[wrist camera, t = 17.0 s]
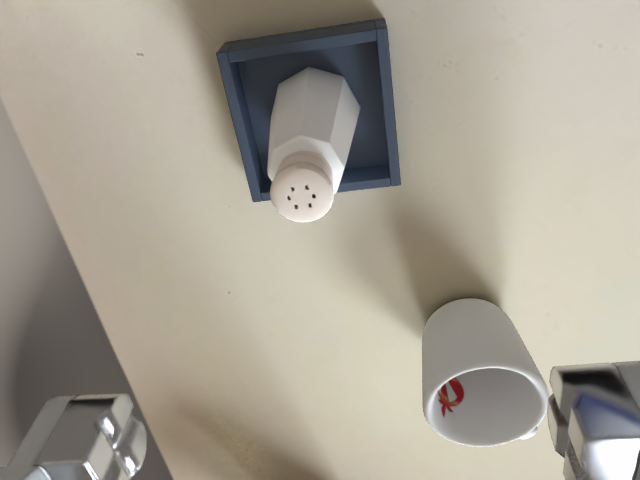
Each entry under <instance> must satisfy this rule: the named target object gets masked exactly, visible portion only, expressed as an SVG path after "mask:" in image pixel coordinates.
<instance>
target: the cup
mask: <svg viewBox="0 0 640 480" xmlns="http://www.w3.org/2000/svg"><path fill="white" fill-rule="evenodd" d="M422 395H423V412H424V415H425V418H426V420H427V422H428V424H429V425H430V426H431V428H432V429H433V430H434V431H435V432H436V433H438V434H439V435H440V436H442V437H443V438H445V439H447V440H449V441H451V442H454V443H458V444H461V445H466V446H474V447H487V446H495V445H501V444H505V443H508V442H511V441H514V440H516V439H527V438H530V437H532V436H533V435H535V434H536V432H537V425H538V424H539V423H540V422H541V421H542V419H543V418H544V416H545V414H546V412H547V405H548V398H549V392H548V388H547V386H546V383H545V381H544V380H543V378H542V376H541V374H540V372H539V370H538V368H537V367H536V365H535V363H534V361H533V359H532V357H531V356H530V354H529V352H528V350H527V348H526V346H525V345H524V343H523V341H522V339H521V337H520V335H519V334H518V332H517V330H516V328H515V326H514V324H513V323H512V321H511V320H510V318H509V317H508V316H507V315H506V313H505V312H504V311H503V310H502V309H500V308H499V307H498V306H496V305H494V304H492V303H490V302H488V301H485V300H481V299H473V298H468V299H459V300H455V301H452V302H449V303H447V304H445V305H443V306H442V307H440V308H439V309H437V310H436V311H435V312H434V313H433V314H432V315H431V317H430V318H429V319H428V321H427V323H426V325H425V328H424V332H423V337H422Z"/></svg>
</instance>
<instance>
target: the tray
mask: <svg viewBox="0 0 640 480" xmlns="http://www.w3.org/2000/svg"><path fill="white" fill-rule="evenodd" d="M216 55H217V59H218V63H219V67H220V71H221V75H222V79H223V83H224V87H225V92H226V96H227V100H228V104H229V108H230V112H231V116H232V120H233V124H234V128H235V132H236V136H237V140H238V144H239V148H240V152H241V156H242V160H243V164H244V168H245V172H246V176H247V180H248V184H249V188H250V192H251V196H252V201H253V202H260V201H268V200H271V198H270V188H271V184H272V181H271V179H270V178H269V176H268V170H267V167H268V153H269V138H270V124H271V115H272V110H273V106H274V102H275V97H276V93H277V88H278V84H280V83H281V82H283V81H285V80H286V79H288V78H290V77H292V76H293V75H295V74H297V73H299V72H300V71H302V70H304V69H305V68H307V67H313V68H316V69H320V70H323V71H327V72H330V73H334V74H337V75H341V76H344V78H345V79H346V81H347V83H348V85H349V87H350V88H351V90H352V92H353V94H354V96H355V97H356V99H357V101H358V103H359V105H360V106H361V108H360V112H359V116H358V119H357V123H356V127H355V131H354V135H353V139H352V143H351V146H350V150H349V154H348V158H347V162H346V165H345V168H344V171H343V174H342V178H341V181H340V184H339V187H338V190H337V192H346V191H354V190H363V189H372V188H380V187H389V186H398V185H401V181H400V169H399V158H398V146H397V135H396V123H395V112H394V100H393V89H392V77H391V66H390V54H389V43H388V31H387V25H386V21H385V18H382V19H375V20H369V21H362V22H356V23H349V24H342V25H336V26H329V27H323V28H316V29H310V30H303V31H297V32H290V33H283V34H277V35H270V36H264V37H257V38H251V39H244V40H238V41H231V42H225V43H224V45H223V46H222V47H221V48H220V49H219V51H218V52H217V53H216ZM337 192H336V193H337Z"/></svg>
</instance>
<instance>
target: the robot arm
mask: <svg viewBox="0 0 640 480" xmlns="http://www.w3.org/2000/svg"><path fill="white" fill-rule="evenodd" d="M549 382H550V384H551V387H552V390H553V394H552V395H551V396H550V397H549V398H548V405H547V415H548V425H549V430H550V434H551V438H552V441H553V445H554V448H555V451H556V452H558V453H559V454H560V455H561V456H562V457H564V458H565V460H564V469H563V475H564V478H565V480H640V361H630V362H615V363H597V364H584V365H570V366H556V367H553V368H552V370H551V373H550V381H549ZM133 406H134V405H133V403H132V401H131V399H130V398H129V396H128V395H127V394H96V395H76V396H54V397H52V398H51V399H49V400H48V401H47V402H46V403H45V404H44V406H43V408H42V409H41V411H40V413H39V415H38V416H37V418H36V419H35V421H34V423H33V424H32V426H31V428H30V429H29V431H28V433H27V434H26V436H25V438H24V439H23V441H22V443H21V444H20V446H19V447H18V449H17V451H16V453H15V454H14V456H13V457H12V459H11V461H10V462H9V464H8V466H7V467H1V468H0V480H130V478H131V477H132V476H133V475H134V474H135V473H136V472H137V471H138V470H139V469H140V468H141V467H142V464H143V461H144V458H145V455H146V447H147V436H146V430H145V427H144V425H143V423H142V421H141V420H140V419H138V418H137V417H135V416H134V415H132V414H131V411H132V409H133Z"/></svg>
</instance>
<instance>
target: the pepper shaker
mask: <svg viewBox="0 0 640 480" xmlns="http://www.w3.org/2000/svg"><path fill="white" fill-rule="evenodd" d="M360 108H361V106H360V105H359V103H358V101H357V99H356V97H355V96H354V94H353V92H352V90H351V88H350V87H349V85H348V83H347V81H346V79H345V78H344V76H341V75H337V74H334V73H330V72H327V71H323V70H320V69H316V68H313V67H307V68H305V69H304V70H302V71H300V72H299V73H297V74H295V75H293V76H292V77H290V78H288V79H286V80H285V81H283V82H281V83H280V84H278V88H277V93H276V97H275V102H274V106H273V110H272V115H271V124H270V138H269V153H268V167H267V170H268V176H269V178H270V179H271V181H272V184H271V188H270V198H271V201H272V204H273V206H274V207H275V209H276V210H277V211H278V212H279V213H280V214H281V215H282V216H284V217H286V218H288V219H290V220H292V221H296V222H310V221H315V220H317V219H319V218H321V217H322V216H323V215H325V214H326V213H327V212H328V210H329V209H330V208H331V206H332V203H333V200H334V194H335V193H336V192H337V190H338V187H339V184H340V181H341V178H342V174H343V171H344V168H345V165H346V162H347V158H348V154H349V150H350V146H351V143H352V139H353V135H354V131H355V127H356V123H357V119H358V116H359V112H360Z"/></svg>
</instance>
